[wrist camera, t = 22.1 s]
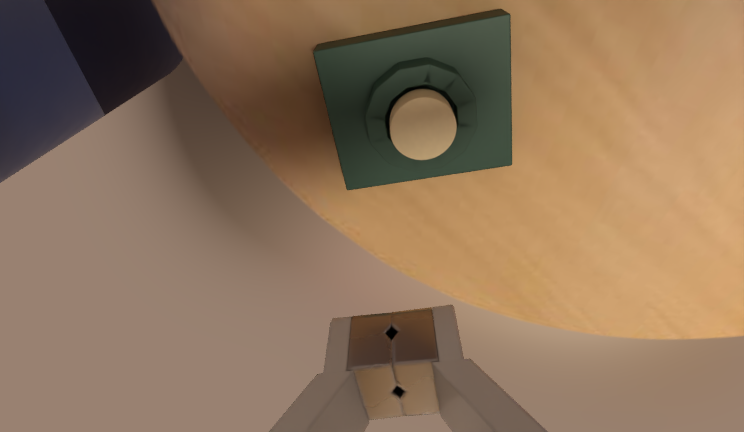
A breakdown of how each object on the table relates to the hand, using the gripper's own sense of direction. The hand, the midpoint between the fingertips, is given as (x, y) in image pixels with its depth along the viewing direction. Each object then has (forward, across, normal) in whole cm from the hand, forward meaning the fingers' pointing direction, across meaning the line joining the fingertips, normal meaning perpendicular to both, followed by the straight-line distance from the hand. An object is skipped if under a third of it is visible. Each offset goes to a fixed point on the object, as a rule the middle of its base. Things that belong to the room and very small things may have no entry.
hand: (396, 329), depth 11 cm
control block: (+23, -2, +2) cm, 23 cm away
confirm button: (+19, -2, +2) cm, 19 cm away
